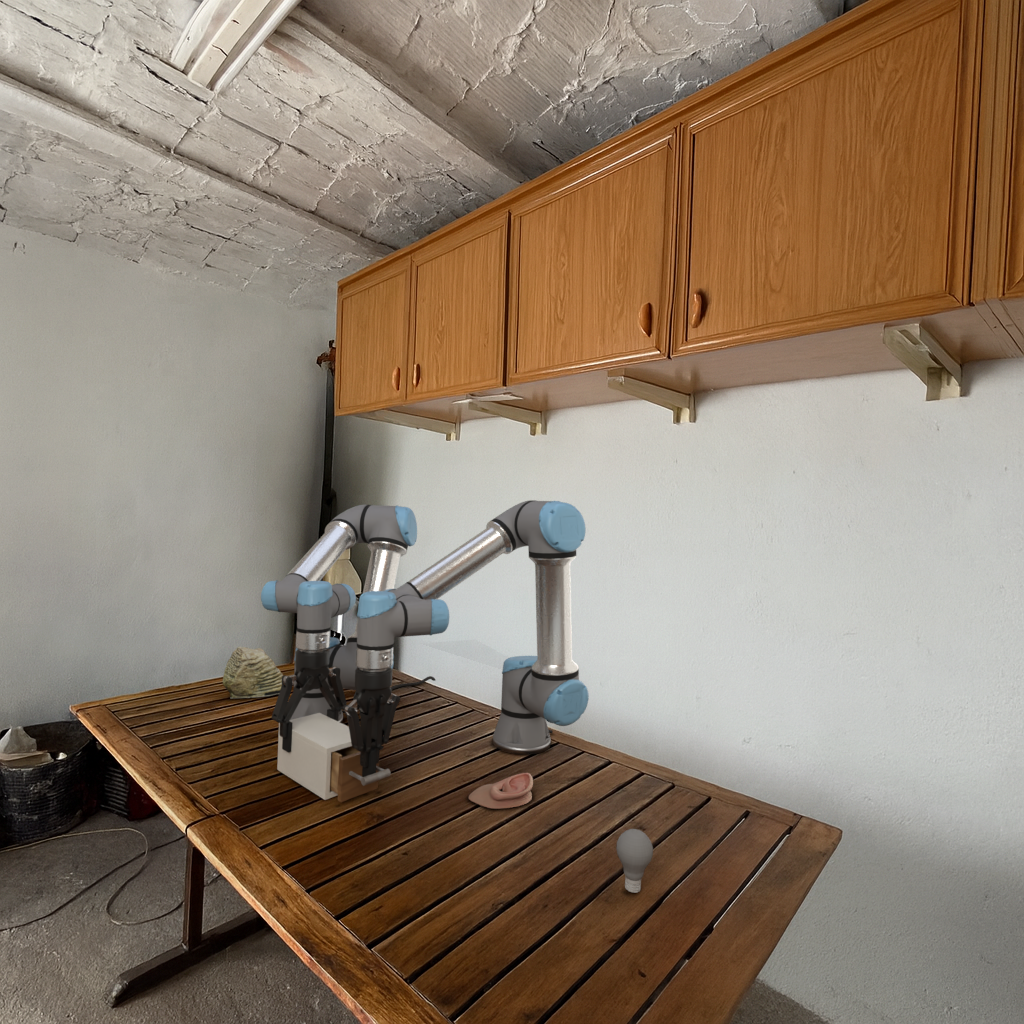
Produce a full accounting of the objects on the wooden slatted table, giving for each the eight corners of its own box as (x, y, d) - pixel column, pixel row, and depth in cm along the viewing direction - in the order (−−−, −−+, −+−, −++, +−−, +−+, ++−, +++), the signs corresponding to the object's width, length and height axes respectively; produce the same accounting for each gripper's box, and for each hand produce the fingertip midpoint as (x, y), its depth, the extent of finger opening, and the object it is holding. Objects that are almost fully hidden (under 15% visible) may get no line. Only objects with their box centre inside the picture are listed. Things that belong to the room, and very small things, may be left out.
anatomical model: (464, 786, 132) (478, 764, 144) (464, 804, 133) (478, 781, 144) (527, 794, 130) (536, 771, 141) (526, 813, 130) (535, 789, 141)
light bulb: (610, 879, 108) (613, 822, 108) (644, 879, 109) (647, 822, 109) (619, 902, 102) (622, 840, 102) (655, 901, 103) (658, 840, 103)
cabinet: (366, 784, 140) (368, 736, 140) (324, 800, 132) (326, 748, 132) (317, 757, 154) (319, 712, 153) (277, 769, 146) (278, 722, 145)
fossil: (218, 695, 195) (220, 647, 195) (278, 685, 208) (279, 640, 207) (228, 703, 189) (230, 653, 188) (289, 692, 201) (290, 645, 201)
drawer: (395, 798, 133) (397, 756, 132) (357, 813, 126) (359, 769, 125) (330, 761, 149) (331, 724, 149) (293, 773, 142) (295, 734, 142)
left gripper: (273, 660, 135) (270, 762, 135) (364, 644, 152) (360, 736, 153) (257, 653, 140) (253, 752, 140) (346, 639, 157) (343, 727, 158)
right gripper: (357, 676, 123) (351, 796, 124) (410, 666, 133) (405, 777, 133) (336, 668, 128) (331, 783, 129) (388, 658, 138) (383, 765, 138)
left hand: (309, 743), depth 146 cm, fingers closed on cabinet, 10 cm apart
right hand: (368, 780), depth 131 cm, fingers closed
